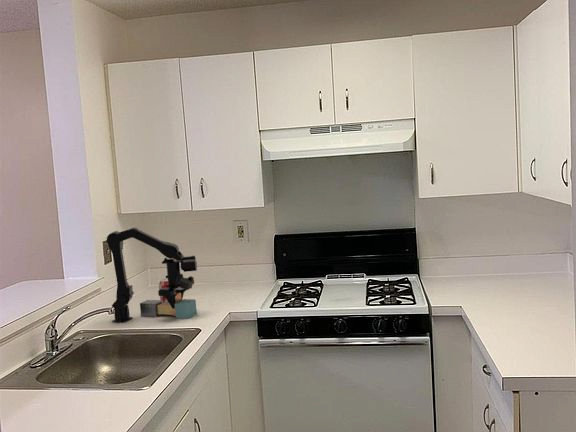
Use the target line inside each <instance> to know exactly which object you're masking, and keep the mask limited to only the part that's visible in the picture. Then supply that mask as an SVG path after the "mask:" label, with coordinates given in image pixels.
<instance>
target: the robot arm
mask: <svg viewBox="0 0 576 432" xmlns="http://www.w3.org/2000/svg"><path fill="white" fill-rule="evenodd" d="M132 238H133V239H136V240H137V241H138V242H139V241H140V242H141V243H143V244H145V245H147V246H150V247H151V248H153V249H156V250H157V251H158V252H160V253H161V254H162V256H164V259H163V260H162V261H161V264H162V265H166V273H167V274H166V275H165V279H168V284H167V285H166V287H169V288H162V289H160V290H159V289H158V291H157V295H158V296H159V297H160V296H165V298H166V299H167V301H168V302H169V304H170V305H171V307H172V308H173V309H174V308H175V296H176V295H177V294H175V293H176V292H181V299H182V300H183V299H184V298H183V297H184V296H185V292H186V291H189V290H190V289H192V288H193V285H194V284H195V279H194V277H193V276H188V277H184V274H183V273H181V270H182V271H183V272H184V273H185V272H196V271H198V263H197V259H196V255H188V256H185V255H184V254H183V253H182V252H181V251H180V248H179V246H178V245H177V244H175V243H171V242H170V241H169V242H168V241H163V240H160V239H158V238H157V237H155V236H153V235H150V234H148V233H146V232H144V231H142V230H140V229H138V228H137V227H132V228H129V229H126V230H123V231H117V230H116V231H113V232H110V233H109V234H108V235H107V236H106V242H107V246H108V248H109V250H110V252H111V254H112V259H113V260H112V261H113V265H114V272H115V278H116V284H117V286H116V294H115V297H116V299H115V301H114V302H113V303H112V305H111V307H112V308H113V307H114V308H115V313H114V312H113V314H114V319H113V320H111V322H113V323H126V322H128V321H130V320H131V319H133V317H132V316H131V315H130V307H129V302H130V301H131V300H132V298H133V295H134V294H135V292H134V290H133V284H129V282H128V278H127V273H126V266H125V261H124V260H125V259H124V254H123V250H124V249H123V248H124V241H126V240H129V239H132Z"/></svg>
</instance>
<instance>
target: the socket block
mask: <svg viewBox="0 0 576 432" xmlns="http://www.w3.org/2000/svg"><path fill="white" fill-rule="evenodd" d="M197 314H198V313H197V301H196V299H193V298H192V299H191V298H190V299H189V298H188V299H186V298H183V299H182V300H181V301H179V302H177V303H175V315H174V316H175V319H185V320H186V319H187V320H189V318H192V317H194V315H197Z"/></svg>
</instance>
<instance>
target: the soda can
mask: <svg viewBox="0 0 576 432" xmlns="http://www.w3.org/2000/svg"><path fill="white" fill-rule="evenodd" d="M167 284H168V278H162V279H159V283H158V291H159V290H160V289H162V288H169V287H166V285H167ZM159 300H162V303H169V302H168V301H167V299H166V298H165V296H159Z"/></svg>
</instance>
